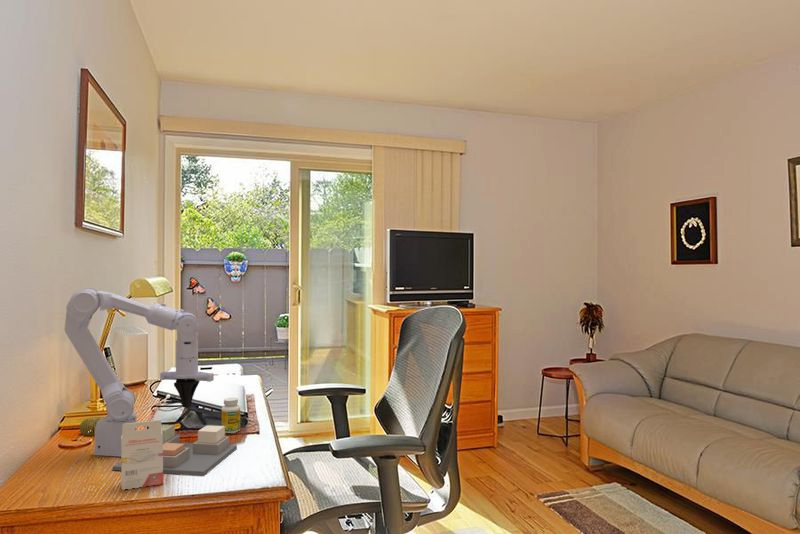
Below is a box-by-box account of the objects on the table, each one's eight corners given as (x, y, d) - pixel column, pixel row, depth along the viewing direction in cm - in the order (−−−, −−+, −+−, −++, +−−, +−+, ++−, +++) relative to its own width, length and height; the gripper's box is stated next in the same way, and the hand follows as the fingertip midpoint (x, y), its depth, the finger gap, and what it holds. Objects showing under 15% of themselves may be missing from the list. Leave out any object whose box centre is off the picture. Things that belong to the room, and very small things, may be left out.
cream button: (197, 444, 145) (197, 430, 145) (206, 438, 150) (206, 425, 150) (216, 445, 144) (216, 431, 144) (224, 439, 149) (224, 426, 149)
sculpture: (103, 422, 161) (74, 423, 160) (103, 436, 161) (74, 437, 160) (114, 415, 169) (86, 415, 168) (114, 428, 169) (86, 429, 168)
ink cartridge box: (162, 477, 131) (163, 414, 131) (163, 485, 127) (163, 420, 126) (121, 482, 128) (122, 418, 128) (120, 491, 123) (120, 424, 123)
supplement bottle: (234, 427, 170) (235, 395, 170) (243, 431, 166) (243, 399, 166) (218, 431, 166) (218, 398, 166) (226, 435, 163) (226, 402, 162)
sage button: (146, 443, 146) (146, 429, 145) (157, 437, 151) (157, 424, 150) (164, 444, 145) (164, 430, 145) (174, 438, 150) (174, 425, 150)
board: (112, 470, 135) (112, 455, 135) (156, 444, 154) (156, 431, 154) (203, 475, 132) (203, 460, 132) (236, 448, 151) (236, 435, 151)
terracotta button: (154, 463, 136) (154, 449, 136) (165, 456, 141) (165, 442, 141) (174, 465, 135) (174, 450, 135) (184, 457, 140) (184, 443, 140)
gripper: (154, 358, 151) (153, 409, 151) (205, 360, 149) (205, 411, 149) (167, 354, 158) (167, 402, 158) (217, 356, 156) (216, 404, 156)
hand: (186, 406), depth 154 cm, fingers closed
